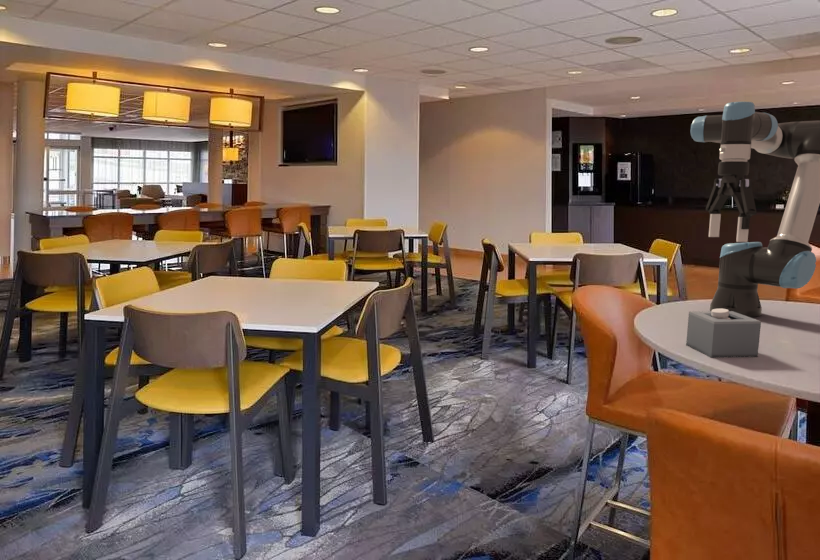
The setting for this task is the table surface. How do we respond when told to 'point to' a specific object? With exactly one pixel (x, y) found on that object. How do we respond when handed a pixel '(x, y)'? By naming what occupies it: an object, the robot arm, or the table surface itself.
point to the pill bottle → (720, 313)
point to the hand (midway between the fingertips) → (727, 239)
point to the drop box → (723, 335)
